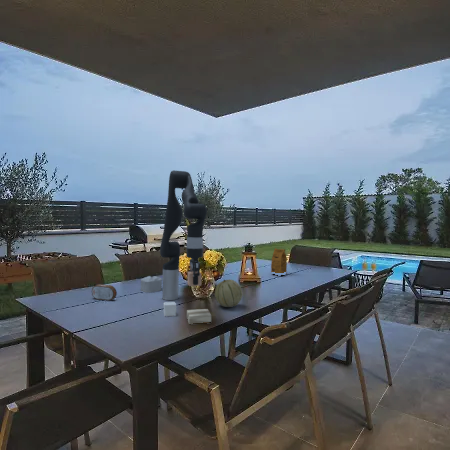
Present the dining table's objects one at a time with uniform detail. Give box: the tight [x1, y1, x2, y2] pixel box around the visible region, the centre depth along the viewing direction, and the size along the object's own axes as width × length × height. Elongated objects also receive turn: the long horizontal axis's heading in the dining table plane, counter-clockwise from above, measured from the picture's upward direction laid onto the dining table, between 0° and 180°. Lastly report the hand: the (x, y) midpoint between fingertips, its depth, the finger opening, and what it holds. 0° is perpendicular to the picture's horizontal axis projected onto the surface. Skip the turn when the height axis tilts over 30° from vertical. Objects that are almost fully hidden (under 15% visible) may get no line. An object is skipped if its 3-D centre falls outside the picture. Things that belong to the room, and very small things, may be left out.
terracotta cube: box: [187, 271, 202, 287], centre depth 150 cm, size 6×6×6 cm
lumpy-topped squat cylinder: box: [140, 275, 163, 294], centre depth 208 cm, size 10×13×9 cm
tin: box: [91, 283, 118, 301], centre depth 184 cm, size 15×3×8 cm, turn 74°
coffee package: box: [270, 247, 288, 273], centre depth 267 cm, size 10×12×22 cm
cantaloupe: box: [214, 279, 243, 308], centre depth 174 cm, size 15×15×15 cm
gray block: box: [186, 308, 212, 325], centre depth 151 cm, size 10×10×4 cm
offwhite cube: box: [163, 301, 177, 317], centre depth 159 cm, size 6×6×6 cm
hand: (194, 283), depth 150 cm, fingers closed on terracotta cube, 5 cm apart
